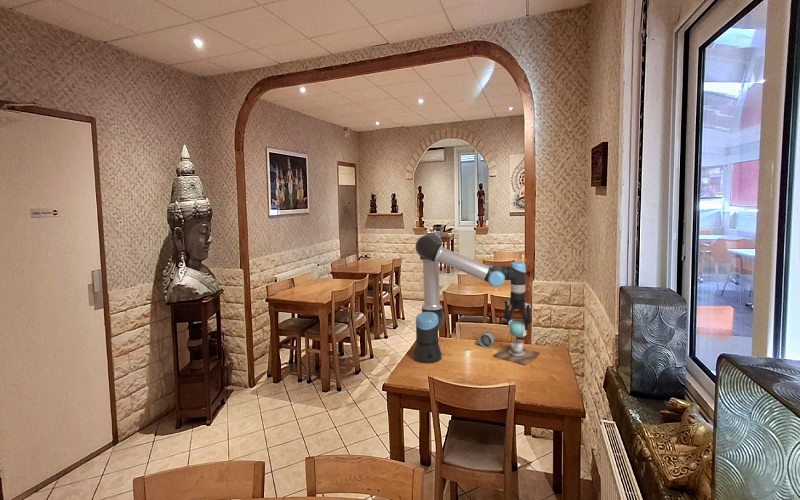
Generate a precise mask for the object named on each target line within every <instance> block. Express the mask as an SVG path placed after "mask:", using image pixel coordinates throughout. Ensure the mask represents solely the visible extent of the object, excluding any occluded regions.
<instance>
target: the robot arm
mask: <svg viewBox="0 0 800 500" xmlns="http://www.w3.org/2000/svg"><path fill="white" fill-rule="evenodd" d="M415 251H416V254H418V256H419V259H420V261H421V262H422V273H423V279H422V280H423V302H424V304H422V306H421V313H418V314H417V316H416V318H415V332H416V333H415V335H416V336H415V340H416V341H415V345H414V351H413V353H412V357H413V360H415V361H416V362H419V363H422V364H423V363H424V364H431V363H437V362H439V361H441V360H442V358H443V356H442V355H443V354H442V353H443V352H442V351H441V348H440V344H439V330H440V329H441V327H442V326H443V324H444V323H445V312H444V310H443V308H444V307H443V305H442V304H441V303H440V300H441V299H440V298H441V297H440V296H441V295H440V272H439V270H440V266H439V263H441V264H444V265H446V266H448V267H451V268H452V269H456V270H458V271H460V272H463V273H465V274H468V275H470V276H471V277H472V276H473V277H475V278H477V279H479V280H481V281H484V282H486V283H488V284H490V286H491V287H494V288H499V287H501V286H502V285H503V284H504V283H505V281H510V296H509V297H510V300H508V299H507V300H506V301H504V307H505V308H504V313H503V320H506V321H507V323H506V326H507V327H508V334H510V323H511V322H512V321H513V320H512V318H513V315H514V313H515V311H516V310H518V311H519V312H520V314H521V317H522V322H523V323H524V324H523V336H522V337H525V336H527V331H528V329H529V324H531V323H532V322H533V319H532V310H531V308H532V304H531V303H527V302H526V290H527V289H526V282H527V281H526V279H527V276H526V275H527V274H526V273H527V268H526V263H525V262H522V261H512V262H510V265H487V264H484V263H482V262H479V261H477V260H474V259H472V258H470V257H467V256H464V255H462V254H460V253H458V252H455V251H452V250H450V249H448V248H445V247H444V246H443V241H442V238H441V237H440V236H439V235H438V234H435V233H426V234H424V235H423V236H420V237H419V238H418V239H417V241H416V242H415ZM510 305H511V307H510ZM525 309H526V310H525Z"/></svg>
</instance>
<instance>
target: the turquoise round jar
mask: <svg viewBox="0 0 800 500" xmlns="http://www.w3.org/2000/svg"><path fill="white" fill-rule="evenodd" d="M523 324H524V321H515V320H512V322H511V323H510V333H509V335H510V336H512V337H516V338H519V337H524V336H523Z"/></svg>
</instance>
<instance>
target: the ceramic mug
mask: <svg viewBox="0 0 800 500" xmlns="http://www.w3.org/2000/svg"><path fill="white" fill-rule="evenodd" d="M495 342H496V335H495V334H494V333H493V332H491V331H485V332H484V333H482V334H481V335H480V336H479V338H478V339H477V340H476V341H475V343H476V345H480V346H481V347H483V348H487V349H488V348H490V347H491V346H492V345H493V344H494V343H495Z"/></svg>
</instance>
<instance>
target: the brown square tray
mask: <svg viewBox="0 0 800 500" xmlns="http://www.w3.org/2000/svg"><path fill="white" fill-rule="evenodd" d="M523 345H524V343H523V342H522V341H516V340H515V341H511V342H510V344H508V345H505V347H503V348H502V349H500V350H499V351H497V352H496V353H494V354H493V355H492V357H493V358H495V359H498V360H503V361H507V362H511V363H512V364H513V363H514V364H517V365H522V366H525V367H526V366H527V365H529V364H530V363H531V362H532V361H534V360H535V359H536V358H538V357H539V356H540V355H541V352H539V351H535V350H530V349H527V348H523V347H524V346H523ZM538 355H539V356H538ZM537 356H538V357H537ZM533 359H534V360H533Z"/></svg>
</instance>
